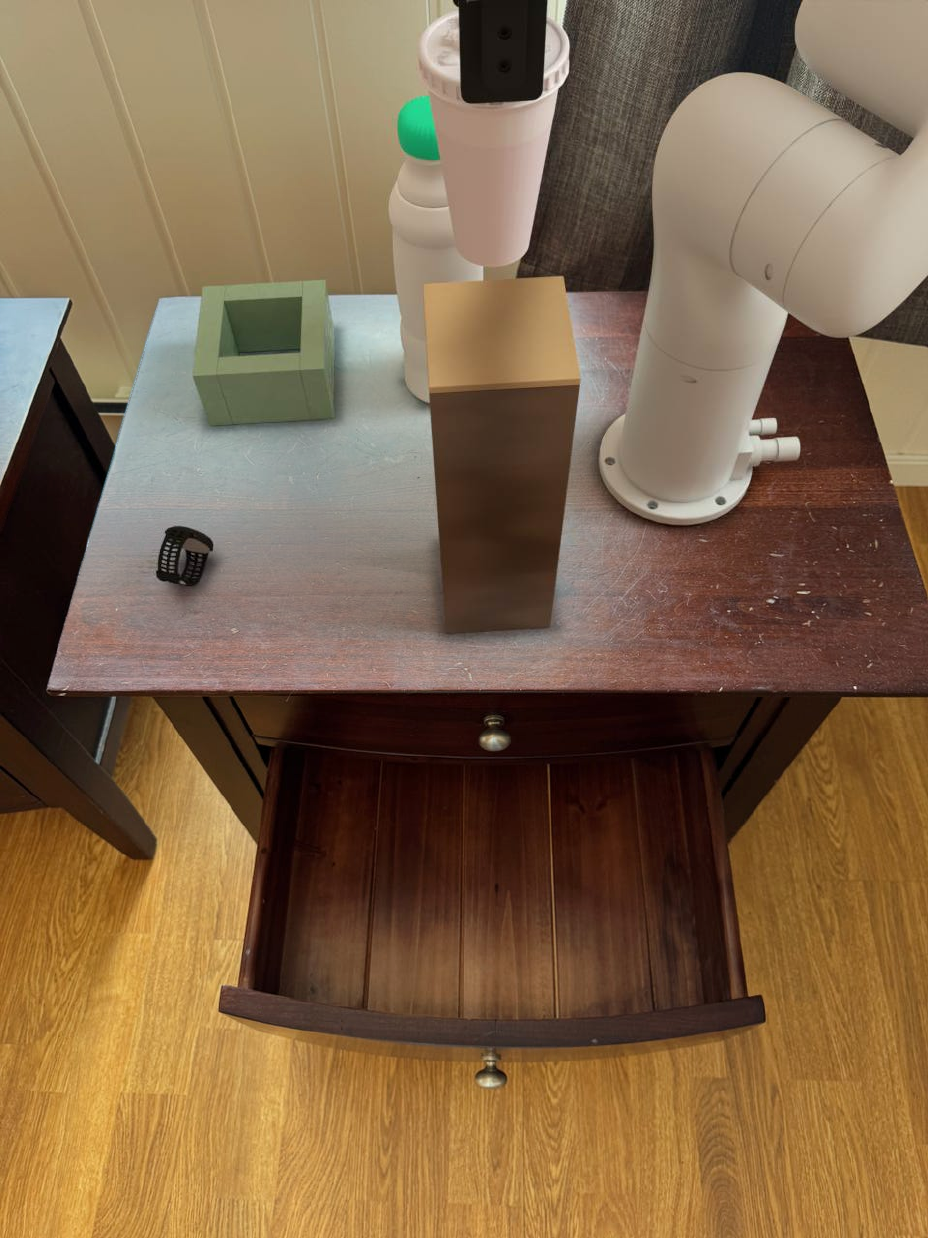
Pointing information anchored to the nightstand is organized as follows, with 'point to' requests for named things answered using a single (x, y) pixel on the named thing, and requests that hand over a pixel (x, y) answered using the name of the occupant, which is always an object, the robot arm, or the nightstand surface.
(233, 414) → the stand
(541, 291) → the riser
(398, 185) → the water bottle
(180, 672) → the nightstand surface
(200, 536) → the smartwatch
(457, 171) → the smoothie
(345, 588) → the nightstand surface
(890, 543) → the nightstand surface
